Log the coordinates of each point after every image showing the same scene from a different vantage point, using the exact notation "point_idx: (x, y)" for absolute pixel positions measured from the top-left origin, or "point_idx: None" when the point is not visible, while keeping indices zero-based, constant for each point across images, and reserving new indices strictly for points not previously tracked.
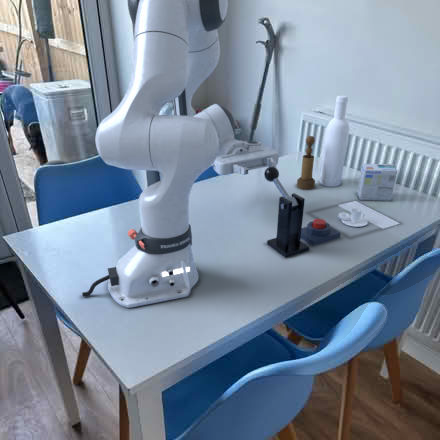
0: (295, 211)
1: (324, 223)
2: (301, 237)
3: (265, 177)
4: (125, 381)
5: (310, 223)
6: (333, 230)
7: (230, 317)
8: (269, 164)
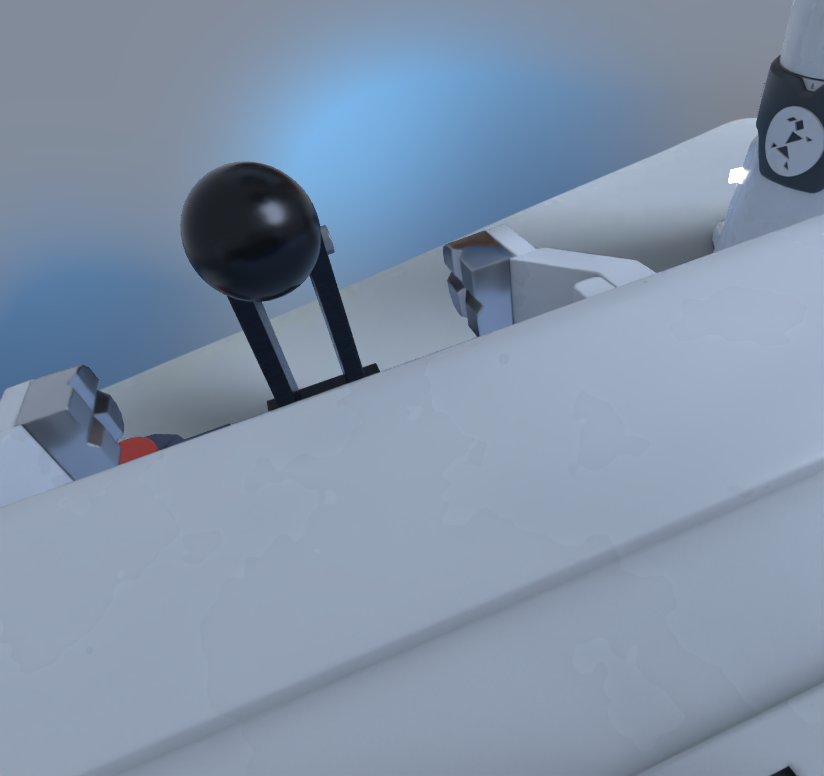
0: (259, 305)
1: (119, 442)
2: None
3: (320, 233)
4: None
5: None
6: None
7: (584, 204)
8: (90, 421)
